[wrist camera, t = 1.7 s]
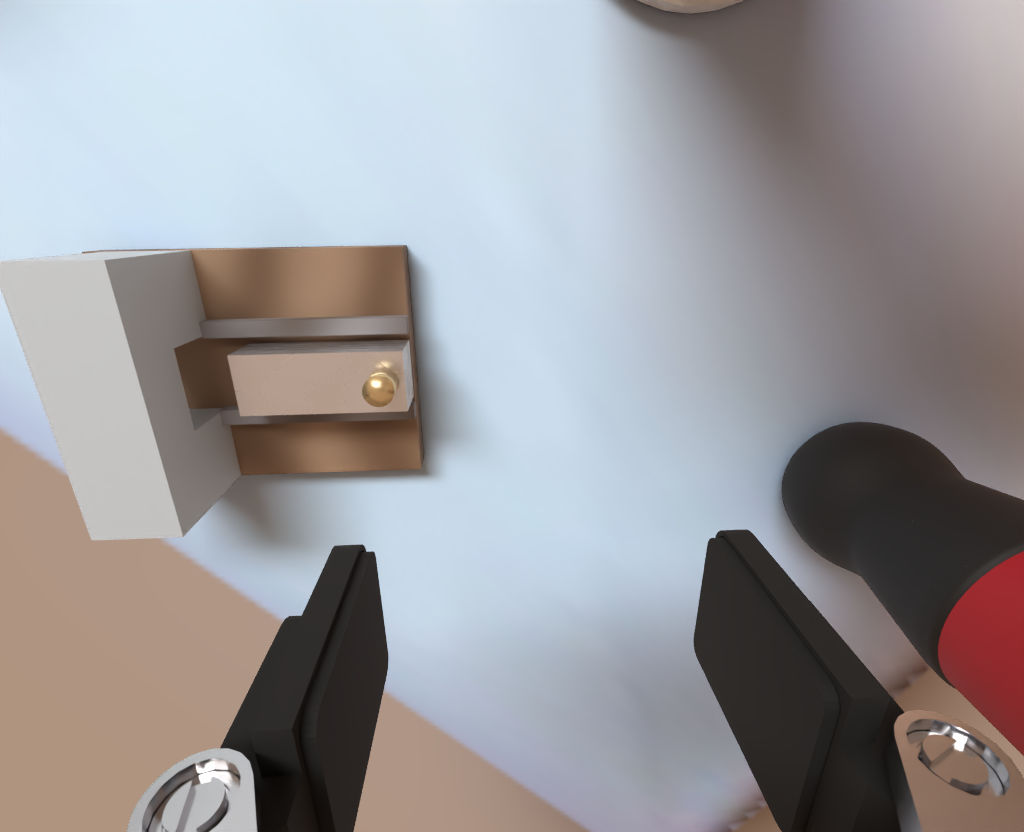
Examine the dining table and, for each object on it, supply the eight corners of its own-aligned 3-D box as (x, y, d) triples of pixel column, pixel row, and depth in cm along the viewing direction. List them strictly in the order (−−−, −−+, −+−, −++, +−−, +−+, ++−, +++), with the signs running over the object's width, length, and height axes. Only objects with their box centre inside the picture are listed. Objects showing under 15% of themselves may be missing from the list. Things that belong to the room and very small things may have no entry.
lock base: (406, 245, 26) (399, 247, 24) (424, 457, 31) (419, 474, 29) (103, 250, 26) (70, 252, 24) (164, 466, 30) (141, 484, 28)
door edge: (190, 250, 25) (104, 259, 19) (241, 475, 29) (183, 536, 23) (103, 251, 24) (-10, 261, 19) (167, 477, 29) (91, 540, 23)
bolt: (409, 339, 26) (397, 359, 23) (413, 395, 27) (403, 422, 24) (249, 343, 26) (211, 364, 22) (260, 399, 27) (225, 428, 23)
